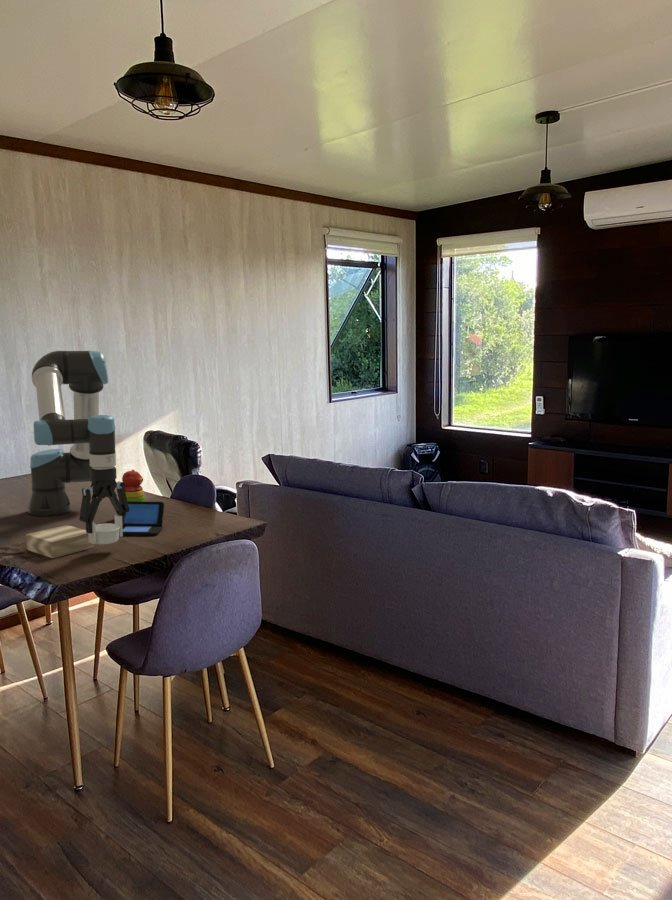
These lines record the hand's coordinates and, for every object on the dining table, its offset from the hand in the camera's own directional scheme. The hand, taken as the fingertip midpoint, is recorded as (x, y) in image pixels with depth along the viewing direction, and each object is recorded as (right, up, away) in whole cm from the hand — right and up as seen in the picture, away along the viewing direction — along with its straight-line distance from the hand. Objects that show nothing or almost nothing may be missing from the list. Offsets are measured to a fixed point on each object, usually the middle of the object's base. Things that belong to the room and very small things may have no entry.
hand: (105, 539), depth 210 cm
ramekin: (0, -1, 0) cm, 1 cm away
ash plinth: (-16, -3, +4) cm, 16 cm away
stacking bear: (-4, +2, +42) cm, 42 cm away
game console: (+3, -1, +26) cm, 26 cm away
